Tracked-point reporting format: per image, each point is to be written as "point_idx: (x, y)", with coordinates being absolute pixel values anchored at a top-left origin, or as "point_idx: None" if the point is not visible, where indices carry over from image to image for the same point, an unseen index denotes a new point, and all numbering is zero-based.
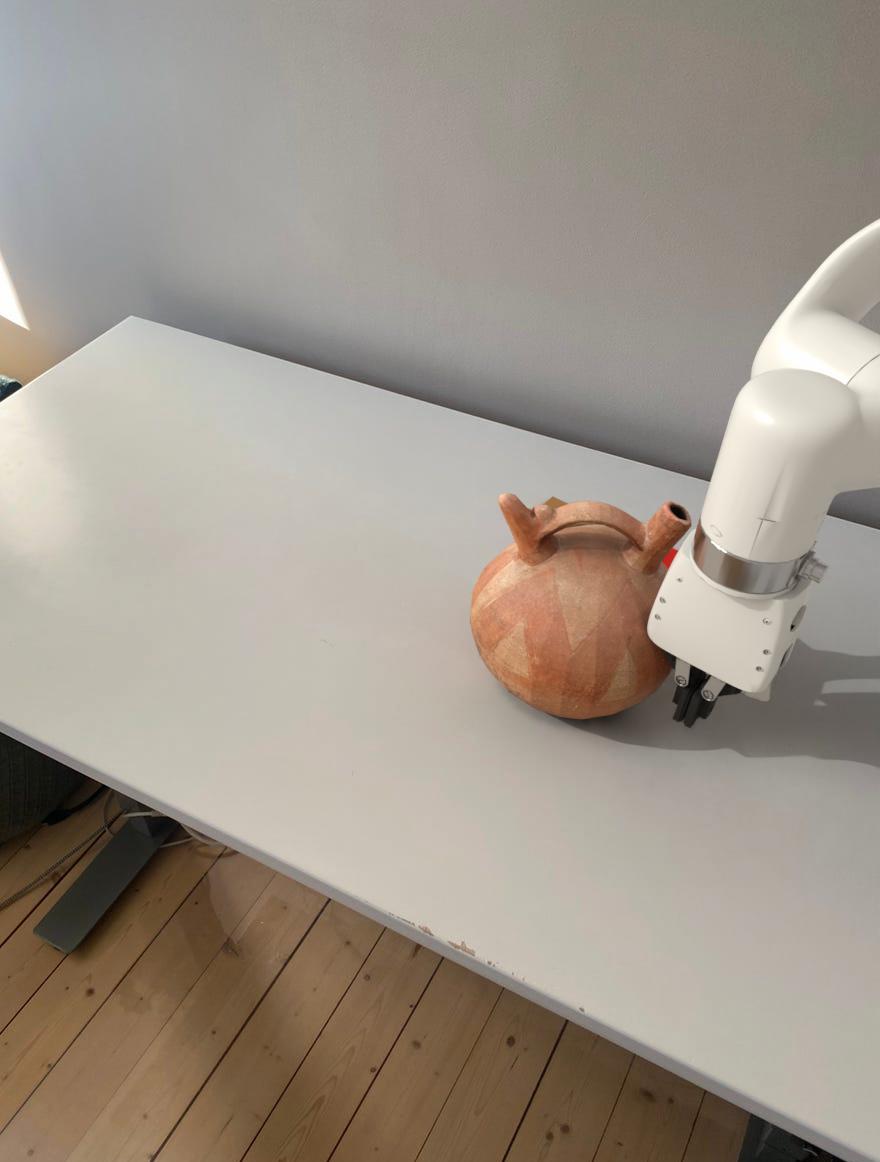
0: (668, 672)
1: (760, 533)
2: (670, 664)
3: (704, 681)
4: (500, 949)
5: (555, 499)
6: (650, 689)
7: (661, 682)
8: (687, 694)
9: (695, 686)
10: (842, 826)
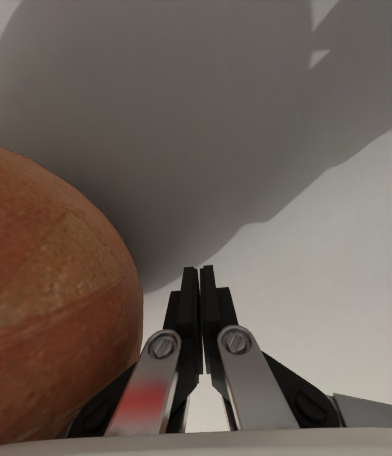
0: (136, 334)
1: None
2: (127, 364)
3: (211, 373)
4: (208, 430)
5: None
6: (140, 349)
7: (141, 323)
8: (198, 376)
9: (199, 361)
10: (387, 230)
